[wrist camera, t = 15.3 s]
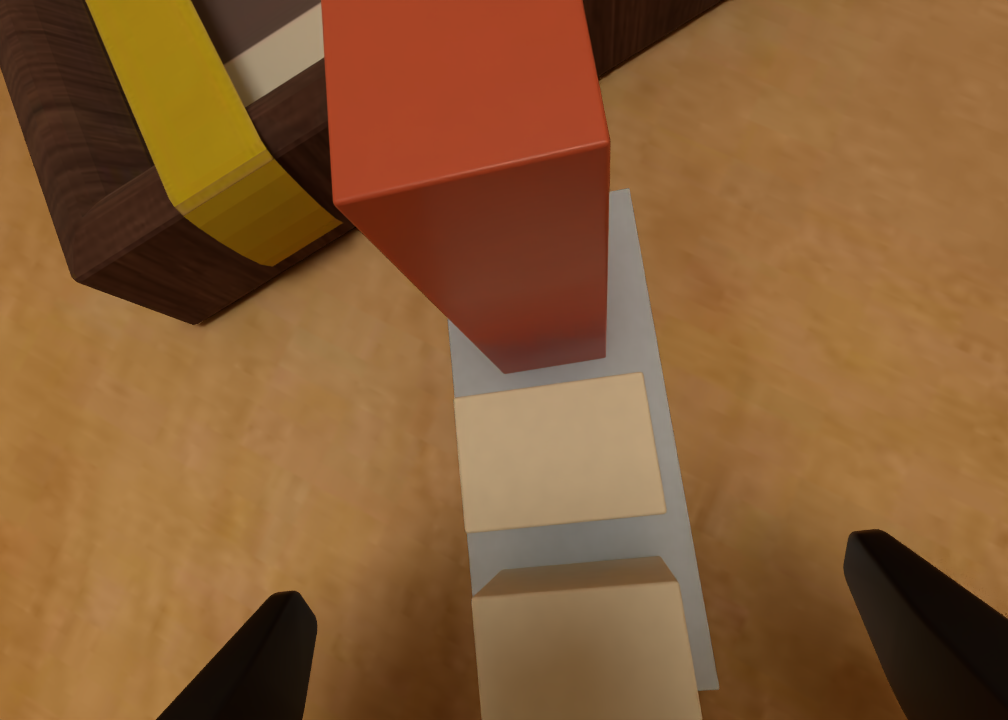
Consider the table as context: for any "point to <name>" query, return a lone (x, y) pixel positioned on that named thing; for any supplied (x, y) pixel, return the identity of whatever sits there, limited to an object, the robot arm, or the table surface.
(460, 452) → the blocks on base plate
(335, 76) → the orange upright bar
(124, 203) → the picture frame
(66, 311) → the table surface
